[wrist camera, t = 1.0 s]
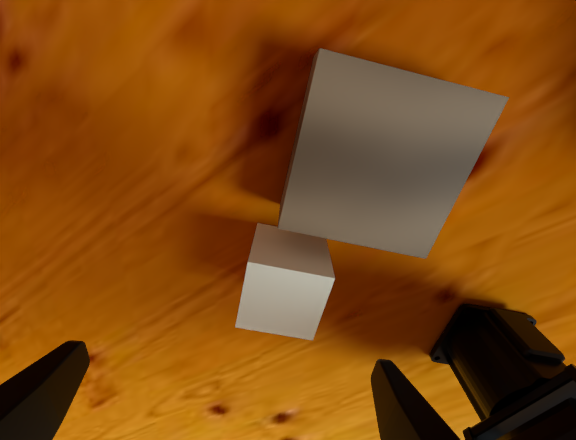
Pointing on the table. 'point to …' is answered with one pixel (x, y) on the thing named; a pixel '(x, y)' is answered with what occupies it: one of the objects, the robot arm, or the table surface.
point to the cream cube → (285, 283)
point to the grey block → (382, 153)
